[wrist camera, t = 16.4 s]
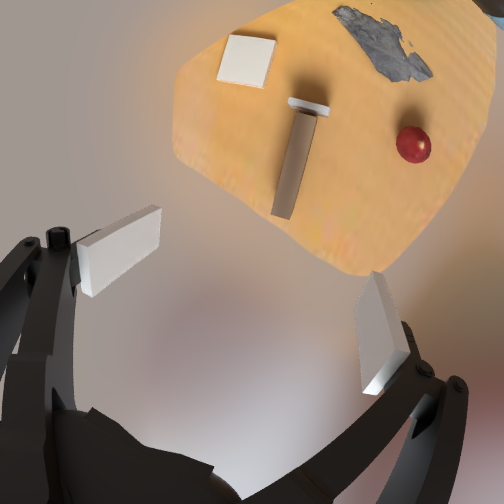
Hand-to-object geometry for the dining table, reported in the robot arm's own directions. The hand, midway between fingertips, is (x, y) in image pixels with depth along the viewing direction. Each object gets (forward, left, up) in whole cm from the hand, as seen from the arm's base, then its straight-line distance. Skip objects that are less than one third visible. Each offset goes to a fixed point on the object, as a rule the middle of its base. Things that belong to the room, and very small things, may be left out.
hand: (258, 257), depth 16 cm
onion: (-16, -12, -32) cm, 38 cm away
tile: (+13, -14, -31) cm, 36 cm away
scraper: (+1, -4, -32) cm, 32 cm away
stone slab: (-9, -29, -32) cm, 45 cm away
